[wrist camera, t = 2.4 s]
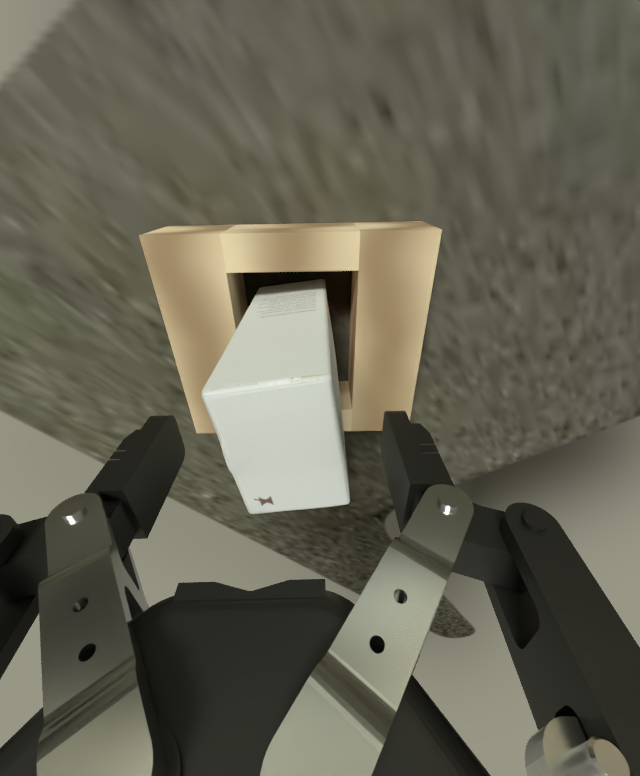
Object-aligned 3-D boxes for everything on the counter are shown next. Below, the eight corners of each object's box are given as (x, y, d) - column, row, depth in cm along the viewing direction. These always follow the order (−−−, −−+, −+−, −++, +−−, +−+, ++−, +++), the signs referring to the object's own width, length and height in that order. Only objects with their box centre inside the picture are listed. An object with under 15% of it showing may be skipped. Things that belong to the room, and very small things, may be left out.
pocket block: (421, 221, 18) (441, 229, 15) (397, 399, 24) (407, 430, 21) (168, 226, 18) (138, 235, 15) (211, 402, 24) (196, 433, 22)
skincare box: (337, 362, 23) (352, 509, 13) (277, 369, 23) (245, 518, 13) (326, 273, 19) (334, 376, 9) (257, 284, 20) (191, 394, 10)
